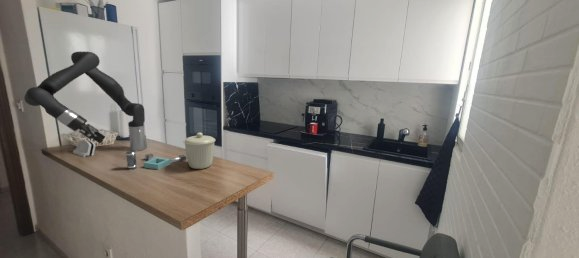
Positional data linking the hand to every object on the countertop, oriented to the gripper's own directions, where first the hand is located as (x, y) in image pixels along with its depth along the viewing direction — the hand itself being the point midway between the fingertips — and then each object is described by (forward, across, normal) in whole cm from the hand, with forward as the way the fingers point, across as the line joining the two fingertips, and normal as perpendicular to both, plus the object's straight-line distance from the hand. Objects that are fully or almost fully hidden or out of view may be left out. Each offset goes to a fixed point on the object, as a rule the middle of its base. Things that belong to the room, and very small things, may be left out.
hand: (102, 140), depth 128 cm
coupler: (+21, -1, +4) cm, 21 cm away
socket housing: (+30, -2, -5) cm, 31 cm away
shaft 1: (+28, +8, -3) cm, 29 cm away
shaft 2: (+37, +1, -13) cm, 39 cm away
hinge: (+2, +41, +23) cm, 47 cm away
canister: (+46, -13, -21) cm, 52 cm away
